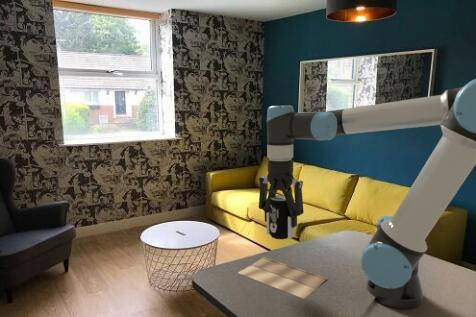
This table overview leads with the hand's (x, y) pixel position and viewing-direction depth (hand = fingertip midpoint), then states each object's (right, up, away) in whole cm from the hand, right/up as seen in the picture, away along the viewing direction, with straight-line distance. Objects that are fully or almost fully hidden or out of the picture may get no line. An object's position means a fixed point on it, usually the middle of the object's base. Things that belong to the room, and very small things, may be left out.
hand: (280, 234), depth 108 cm
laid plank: (-1, -16, +3) cm, 16 cm away
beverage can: (0, -1, 0) cm, 1 cm away
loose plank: (+3, -15, +8) cm, 17 cm away
